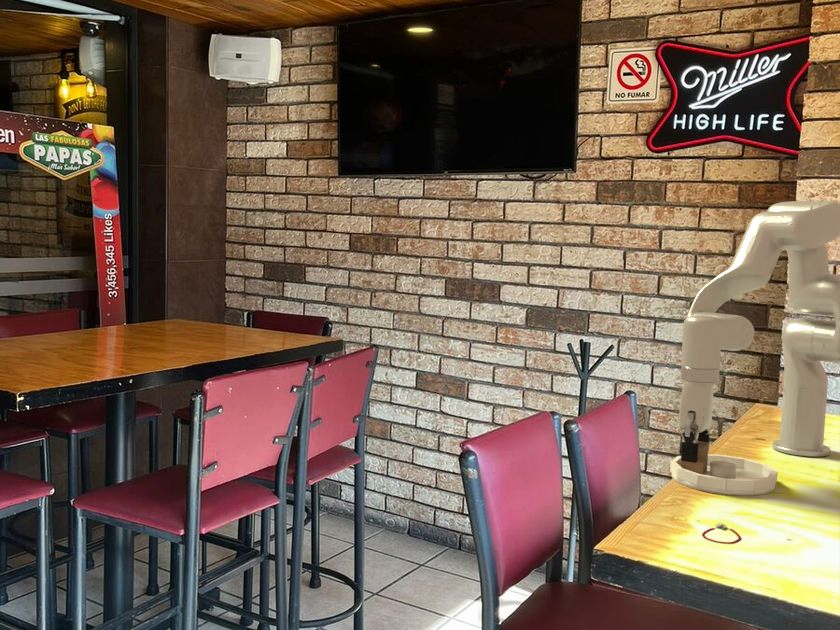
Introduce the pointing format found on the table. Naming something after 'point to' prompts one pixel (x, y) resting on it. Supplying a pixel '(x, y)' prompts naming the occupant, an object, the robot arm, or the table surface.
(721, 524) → the red cord bracelet
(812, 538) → the table surface
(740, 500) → the table surface
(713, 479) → the dish
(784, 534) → the table surface
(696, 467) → the wooden brick
